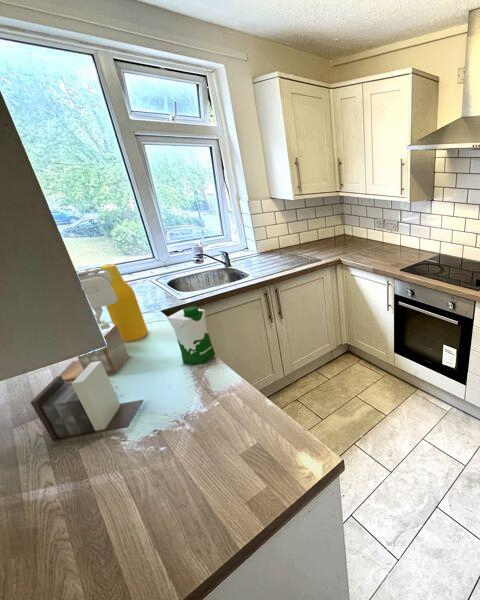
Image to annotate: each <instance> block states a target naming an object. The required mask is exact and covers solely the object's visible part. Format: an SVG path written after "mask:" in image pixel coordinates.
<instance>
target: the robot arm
mask: <svg viewBox="0 0 480 600" xmlns="http://www.w3.org/2000/svg"><path fill="white" fill-rule="evenodd" d="M101 271H102V272H101ZM76 272H77V273H78V276H79V279H80V281H81V284H82V287H83V289H84V291H85V293H86V295H87V298H88V300H89V302H90V305H91V307H92V309H91V310H93V311H94V312H95V314H94V317H96V319H97V322H98V324H99V325H98V326H100V324H102V322H101V317H102V314H103V312H104V311H103V308H102V307H106V306H107V305H111V304H114V303H116V301H117V300H118V298H117V296H116V294H115V292H114V290H113V288H112V287H111V285H110V283H111V276H110V274H109V272H108V271H106V270H103V269H101V268H100V267H94V268H91V269H84V270H77V271H76Z"/></svg>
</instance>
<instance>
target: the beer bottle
mask: <svg viewBox="0 0 480 600" xmlns="http://www.w3.org/2000/svg"><path fill="white" fill-rule="evenodd" d="M99 269H103V270H106V271H108V272H109V274H110V276H111V283H110V285H111V287H112V288H113V290H114V292H115V294H116V296H117V298H118V300H117V301H116V303H114V304H111V305H107V306H105V307H106V310H107V313H108V315H109V318H110V320H111V322H112V325H115V324H116V325H117V327H118V330H119V332H120V335H121V337H122V340H123V342H125V343H126V342H127V343H128V342H134V341H138V340H140V339H142V338H145V337H146V336H147V335H148V332H149V329H148V326H147V325H146V322H145V319H144V315H143V313H142V310H141V308H140V305H139V302H138V299H137V297H136V294H135V291H134V289H133V288H132V287H131V286H130V284H128V282H127V281H125V279H123V276H122V275H121V273H120V271H119V269H118V266H117V265H116V264H115V263H108V264H102V265H101V266H99ZM100 272H102V271H100Z"/></svg>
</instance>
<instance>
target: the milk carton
mask: <svg viewBox="0 0 480 600" xmlns="http://www.w3.org/2000/svg"><path fill="white" fill-rule="evenodd" d="M166 318H167V320H168V321H169V323H170V326H171V327H172V328H173V331H174V334H175V337H176V340H177V343H178V346H179V350H180V354H181V359H182V364H184V365H191V366H199V365H204V364H205V363H207V362H209V361H210V360H211V359H212V358H214V357H215V356H216V352H215V350H214V349H215V348H214V347H213V344H212V341H211V337H210V333H209V330H208V326H207V322H206V309H201V308H199V307H198V306H197V305H188V306H185V307H184V308H182V309H180V310H178V311H176V312H175V313H173V314H171V315H169V316H167V317H166Z"/></svg>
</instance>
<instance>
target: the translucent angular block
mask: <svg viewBox="0 0 480 600" xmlns="http://www.w3.org/2000/svg"><path fill="white" fill-rule="evenodd" d="M100 330H102V333H103V335H104V338H105V340H106V343H107V347H105V348H103V349H100V350H97V351H93V352H91V353H88V354H85V355H83V356H79V357H77V360H73V361H71V363H70V364H69V365H68V366H67V367H66V368H64V370H63V371H62V372H61V373H59V375H58V376H61V377H62V379H63V381H64V383H67V382H73V381H74V380H75V379H76V378H77V377H78V376H79V375H80V374H81V373H82V372H83V371H84V370H85V368H86V367H87V366H88V365H89V364H90V363H91V362H98V361H101V362H102V364H103V366H104V369H105V371H106V373H107V375H108V376H110V375H111V376H112V375H116V374H118V372H119V370H120V369H121V368H122V366H123V365H124V364H125V363H126V361H127V360H128V359H129V357H130V356H131V355H130V353H129V352H128V350H127V348H126V345H125V343H124V341H123V340H122V337H121V335H120V332H119V330H118V327H117V325H116V324H115V325H113V324H112V325H111V326H110V328H109V329H101V328H100Z"/></svg>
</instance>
